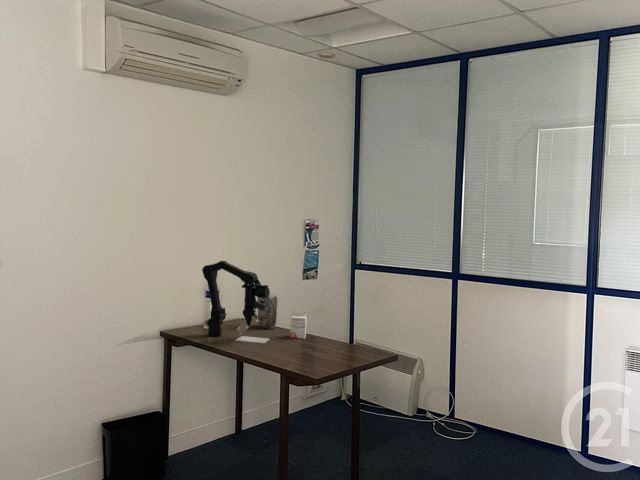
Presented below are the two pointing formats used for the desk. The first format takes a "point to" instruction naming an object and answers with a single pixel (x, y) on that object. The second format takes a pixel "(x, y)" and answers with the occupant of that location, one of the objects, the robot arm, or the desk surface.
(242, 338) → the grey board
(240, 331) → the birch block
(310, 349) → the desk surface
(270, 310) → the stone block
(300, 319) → the ink cartridge box
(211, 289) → the robot arm
